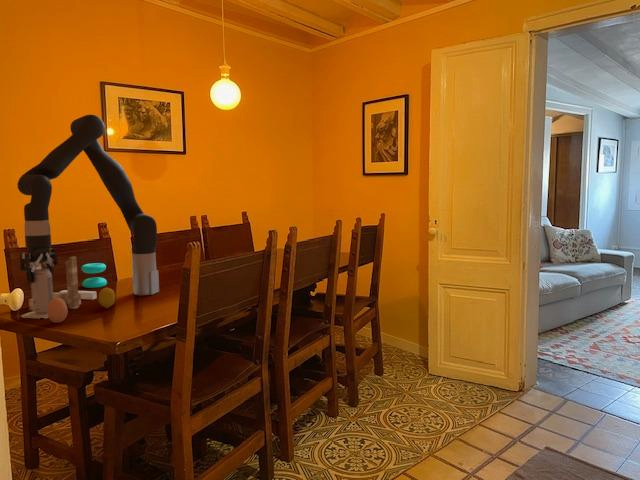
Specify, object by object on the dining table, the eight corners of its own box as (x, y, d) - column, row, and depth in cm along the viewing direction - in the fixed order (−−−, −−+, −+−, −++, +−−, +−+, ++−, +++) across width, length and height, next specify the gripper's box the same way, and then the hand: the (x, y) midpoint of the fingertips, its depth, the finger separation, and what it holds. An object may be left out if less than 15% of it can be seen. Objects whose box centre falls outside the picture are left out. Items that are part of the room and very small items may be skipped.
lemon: (119, 307, 167) (118, 286, 166) (107, 310, 162) (106, 289, 161) (107, 305, 169) (106, 284, 168) (95, 309, 163) (94, 287, 163)
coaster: (64, 311, 160) (63, 309, 160) (45, 318, 152) (45, 316, 151) (41, 310, 162) (41, 308, 162) (21, 317, 153) (21, 315, 153)
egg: (61, 319, 151) (60, 294, 150) (71, 321, 148) (70, 297, 147) (44, 323, 146) (42, 298, 145) (54, 326, 143) (52, 300, 142)
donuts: (76, 266, 198) (90, 262, 208) (77, 288, 199) (91, 283, 209) (97, 266, 197) (110, 262, 207) (98, 288, 198) (111, 284, 208)
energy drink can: (36, 311, 158) (33, 268, 157) (55, 309, 160) (53, 268, 159) (31, 315, 153) (28, 271, 151) (51, 313, 155) (49, 270, 153)
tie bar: (96, 298, 181) (96, 291, 181) (92, 300, 179) (92, 292, 178) (64, 297, 183) (64, 290, 183) (60, 298, 181) (59, 291, 180)
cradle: (87, 304, 171) (84, 254, 169) (66, 312, 160) (62, 259, 158) (46, 302, 174) (43, 253, 172) (23, 310, 162) (19, 258, 160)
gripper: (31, 235, 146) (35, 285, 148) (62, 232, 160) (65, 276, 162) (11, 235, 147) (14, 284, 149) (43, 231, 161) (46, 276, 163)
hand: (40, 280), depth 155 cm, fingers open, 8 cm apart
